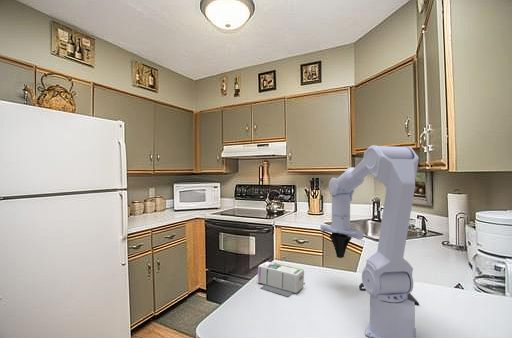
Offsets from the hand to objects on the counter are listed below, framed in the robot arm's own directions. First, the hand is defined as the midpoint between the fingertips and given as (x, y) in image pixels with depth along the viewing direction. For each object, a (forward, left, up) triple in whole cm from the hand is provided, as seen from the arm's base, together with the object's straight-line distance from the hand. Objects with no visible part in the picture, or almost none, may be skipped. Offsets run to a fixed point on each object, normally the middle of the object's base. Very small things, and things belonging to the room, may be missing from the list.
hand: (340, 257), depth 84 cm
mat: (+16, +9, -10) cm, 21 cm away
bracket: (-12, -7, -11) cm, 18 cm away
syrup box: (+10, +9, -7) cm, 15 cm away
